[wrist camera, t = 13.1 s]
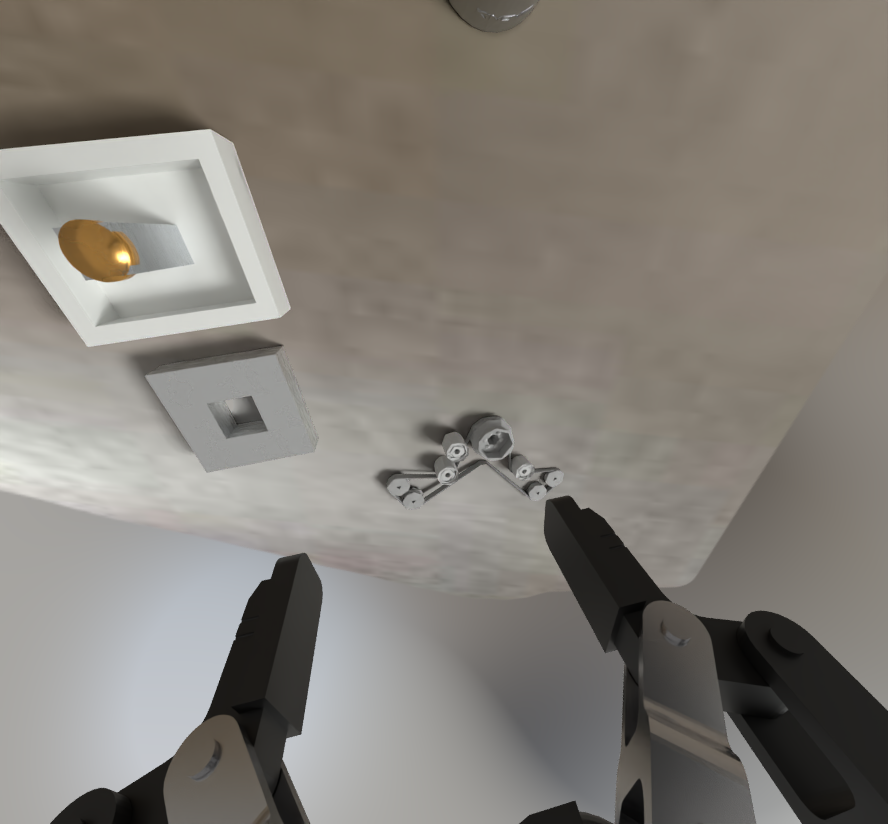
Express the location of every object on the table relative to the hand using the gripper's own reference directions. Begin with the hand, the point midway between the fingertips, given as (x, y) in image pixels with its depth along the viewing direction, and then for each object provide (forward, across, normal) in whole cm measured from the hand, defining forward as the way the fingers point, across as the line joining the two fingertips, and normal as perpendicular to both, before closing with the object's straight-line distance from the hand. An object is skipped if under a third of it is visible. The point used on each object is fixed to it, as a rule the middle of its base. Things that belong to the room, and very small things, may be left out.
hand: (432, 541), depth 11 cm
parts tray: (+28, +18, -10) cm, 35 cm away
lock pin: (+27, +18, -10) cm, 34 cm away
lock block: (+28, +18, +6) cm, 34 cm away
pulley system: (+29, -9, +21) cm, 37 cm away
